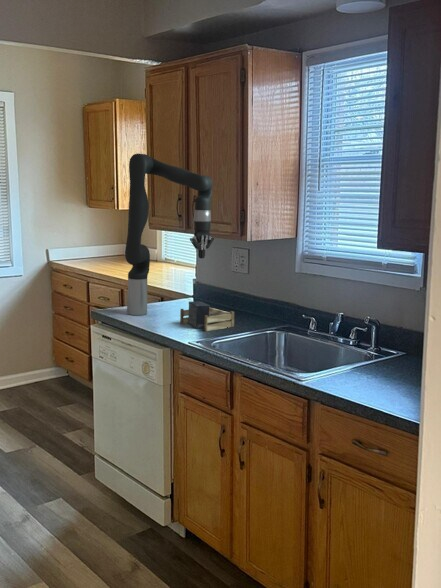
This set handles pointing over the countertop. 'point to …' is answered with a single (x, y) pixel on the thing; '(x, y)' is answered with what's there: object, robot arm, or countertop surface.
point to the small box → (197, 314)
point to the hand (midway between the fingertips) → (201, 258)
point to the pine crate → (212, 319)
